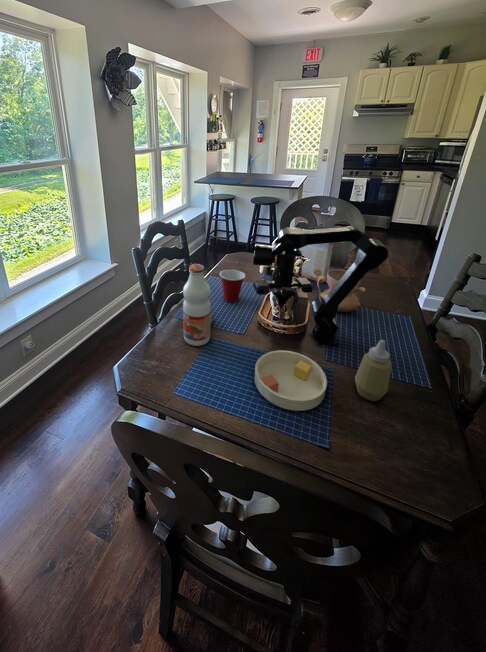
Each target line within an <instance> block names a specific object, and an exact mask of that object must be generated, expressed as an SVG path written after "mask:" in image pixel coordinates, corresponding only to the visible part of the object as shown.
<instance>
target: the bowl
mask: <svg viewBox="0 0 486 652" xmlns="http://www.w3.org/2000/svg"><path fill="white" fill-rule="evenodd" d="M299 361H303V362H305V363H307V364H309V365H311V372H310V375H309V377H308V378H307V380H306V381H303V380H301V379H299V378H298V377H296V376H294V372H295V366H296V365H297V364H298V363H299ZM269 375H272V376H273V377H274V378H275V379H276V381H277V382H278V383H279V385H278V393H276V392H274V391H272V390H271V389H270V388H269V387H267V386H266V385H265V384H264V382H263V381H262V380H261V378H263V377H266V376H269ZM253 379H254V380H253V381H254V384H255V387H256V389H257V390H258V392H259V393H260V394H261V396H262V397H263V398H264V399H265V400H267V401H268V402H270V403H271V404H273V405H275V406H277V407H279V408H282V409H284V410H288V411H296V412H297V411H298V412H299V411H301V412H302V411H309V410H312V409H314V408H316V407H317V406H319V405H320V404H321V403H322V402H323V400H324V399H325V396H326V390H327V387H328V386H327V385H328V379H327V375H326V373H325V372H324V370H323V368H322V367H321V366H320V365H319V364H318V363H317V362H316V361H315V360H313V359H311V358H310V357H308V356H307V355H304V354H301V353H299V352H295V351H291V350H280V349H279V350H272V351H269V352H267V353H264V354H262V355H261V356H260V357H259V358H258V359H257V360H256V363H255V366H254V378H253Z"/></svg>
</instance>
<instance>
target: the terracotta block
mask: <svg viewBox="0 0 486 652" xmlns="http://www.w3.org/2000/svg"><path fill="white" fill-rule="evenodd" d="M261 380H262V381H263V382H264V384H265V385H266V386H267V387H269V388H270V389H271V390H272V391H274V392H276V393H278V385H279V383H278V382H277V381H276V379H275V378H274V377H273V376H272V375H269V376H266V377H263V378H261Z"/></svg>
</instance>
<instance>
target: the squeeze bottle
mask: <svg viewBox="0 0 486 652" xmlns="http://www.w3.org/2000/svg"><path fill="white" fill-rule="evenodd" d="M391 371H392V362H391V360H390V353H389V351H388V350H386V341H385V339H380V340H379V341H378V342H377V344H376V346H372V347H370V348H369V350H368V352H366V353H364V355H363V356H362V359H361V362H360V364H359V366H358V370H357V372H356V373H355V376H354V379H355V380H354V381H355V386H356V391H357V393H358V395H360V397H362V398H364V399H366V400H367V401H371V402H378V401H380V400H381V399H382V398H383V397H384V396H385V395H386V394H387V392H388V390H389V385H390V380H391V379H390V378H391Z"/></svg>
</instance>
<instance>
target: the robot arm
mask: <svg viewBox="0 0 486 652" xmlns="http://www.w3.org/2000/svg"><path fill="white" fill-rule="evenodd" d="M324 243H333V244H336V243H352V244H353V245H355V247H357V249H358V250H357V253H356V256H355V258H354V261H353V263H352V264H351V266H349V268H348V269H346V270H347V272H346V273H345V274H344V275H343V276H342V278H341V279H340V280H339V281H338V283H337V284H336V285H335V286H334V287H333V289H332V290H331V291H330V292H329V294H328V295H326V296H324V297H321V296H320V294H318V295H317V297H316V298H315V300H313V301H312V302H311V304H312V306H311V312H312V315H313V320H314V322H315V323H314V326H313V327H312V332H311V333H310V334H311V337H312V339H313V340H314V341H315V343H316V344H317V345H319V346H326V345H327V346H329V345H330V346H337V345H338V343H337V341H336V335H337V332H338V331H339V328H340V327H339V324H338V322H337V319H336V315H337V313H338V311H337V310H338V306H339V305H340V303H341V302H342V301H343V300H344V299H345V297H346V296H347V295H348V294H349V293H350V292H351V290H352V289H353V288H354V287H355V286H356V285H357V283H358V282H359V281H360V280H361V281H362V279H363V278H364V277H365V275H366V274H367V273H368V272H370V271H373V270H375V269H377V268H378V267H379V266H381V265H382V264H383V263H385V261H387V260H388V258H389V250H388V248H387V247H386V246H385V245H384V244H383V243H382V242H381V241H380V240H379V239H377V238H371V237H370V236H368V235H367V234H366V233H365V232H363V231H361V230H360V229H359V228H358V227H357V226H355V225H349V226H348V225H347V226H342V227H341V226H340V227H330V228H317V229H303V228H298V227H284V228H282V229H281V230H280V231H279V233H278V237H276V239H274V241H273V242H272V243H271V245H264V244H257V243H256V244H255V245H254V252H253V261H252V265H254V266H260V267H261V266H263V267H264V270H263V271H264V275H265V276H269V278H271V281H272V282H267V280H266V279H255V280H254V281H253V284H252V288H253V290H254V291H255V293H256V295H259V296H263V295H265V296H266V295H268V294H270V292H271V293H272V296H274V297H275V298H276V303H277V306H278V309H283V307H284V306H285V305H286V303H287V302H288V301H289V300H290V299H291V298H292V297H293V296H295V295H296V292H295V289H300V288H301V289H300V290H301V292H302V293H304V294H306V293H312V292H313V291H314V285H313V284H312V282H311V281H310V279H308V278H304V277H296V278H295V279H294V277H295V276H296V275H295V265H296V258H297V257H302V253H301V251H300V250H299V249H300V248H302V247H304V246H307V245H311V244H324ZM275 260H276V262H275ZM273 264H275V265H274V266H273ZM272 266H273V267H272ZM293 279H294V281H293ZM361 281H360V282H361Z"/></svg>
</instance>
